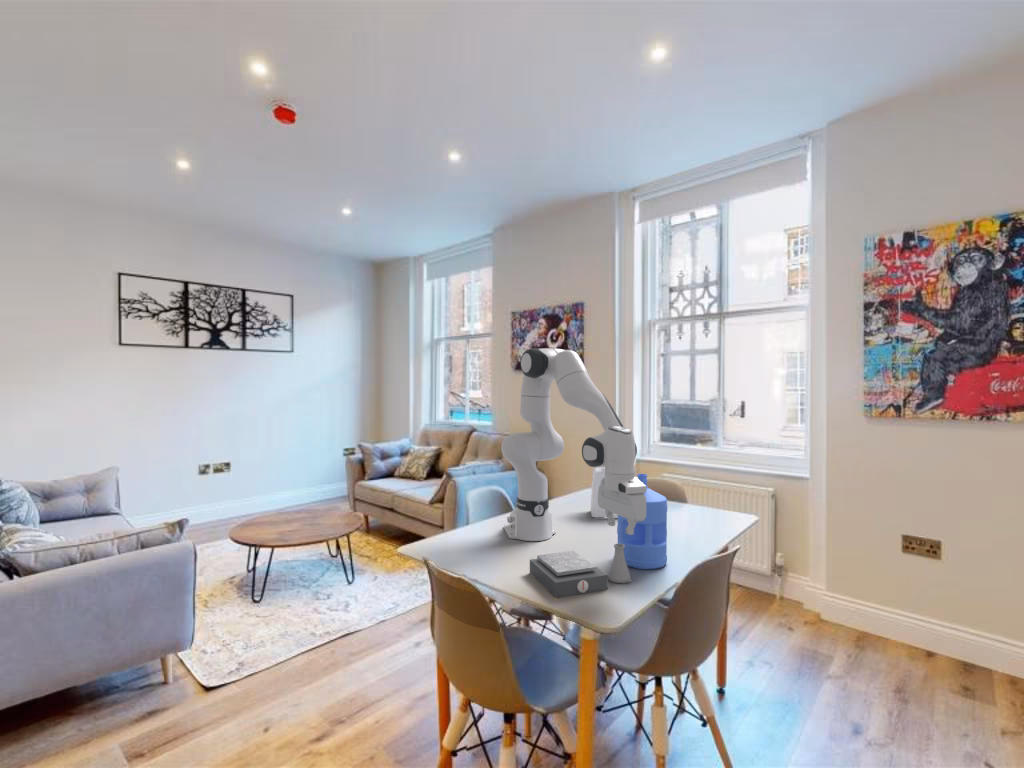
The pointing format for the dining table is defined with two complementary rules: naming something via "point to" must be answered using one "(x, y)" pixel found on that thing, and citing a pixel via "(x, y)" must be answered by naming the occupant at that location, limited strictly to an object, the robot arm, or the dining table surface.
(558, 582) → the base
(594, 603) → the dining table surface
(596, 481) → the milk
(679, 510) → the dining table surface
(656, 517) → the water jug
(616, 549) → the flask
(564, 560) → the pan
